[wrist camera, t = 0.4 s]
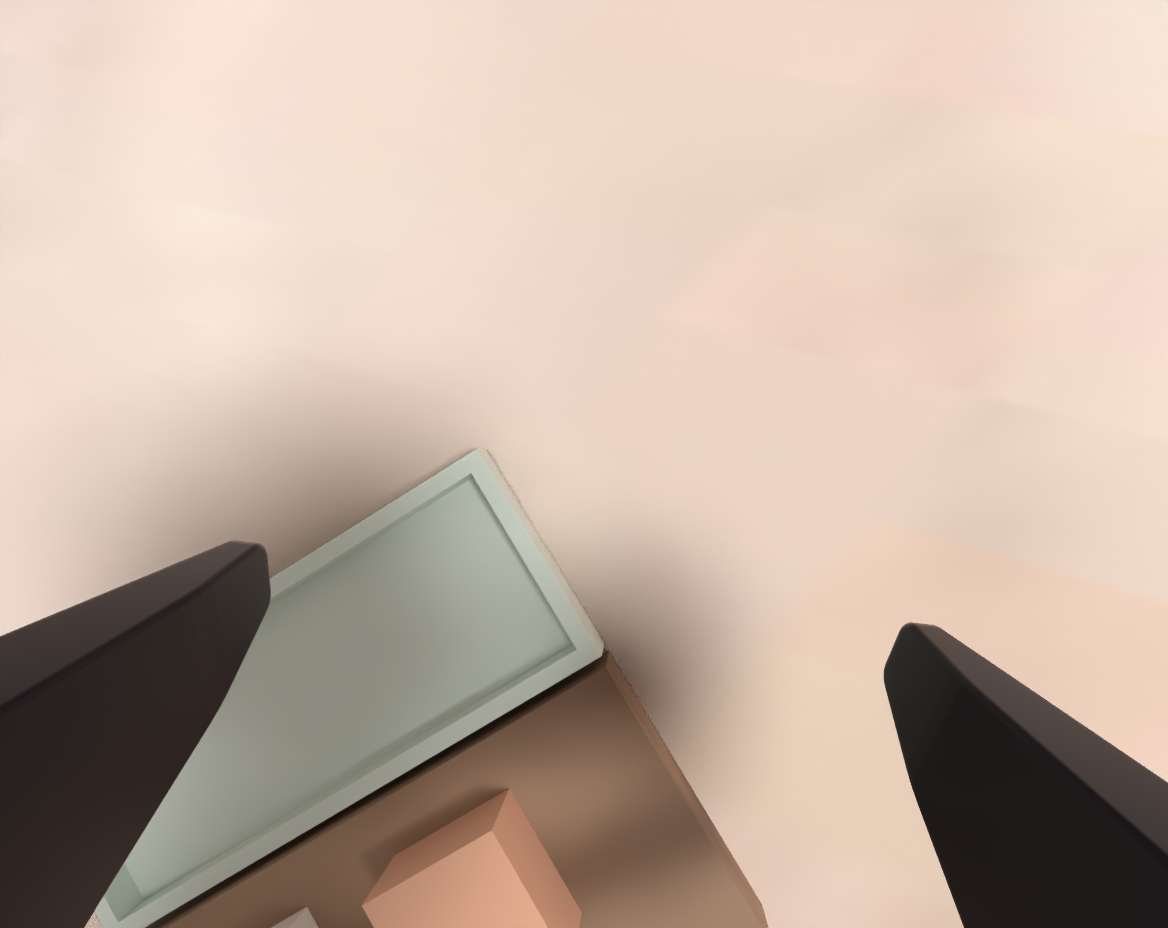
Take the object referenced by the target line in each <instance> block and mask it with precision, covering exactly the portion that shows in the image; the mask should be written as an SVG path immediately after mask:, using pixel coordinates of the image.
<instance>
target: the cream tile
mask: <svg viewBox="0 0 1168 928" xmlns="http://www.w3.org/2000/svg"><path fill="white" fill-rule="evenodd" d="M271 928H318V926H317V924H316V922H315V920H314V919H313V917H312V915H311V913H310V911H309V909H308V908H307V907H305V908H304V909H302V910H300V911H299V912H297V913H295V914H293V915H292V916H290V917H288V918H287V919H285V920H283V921H281V922H280V923H278V924H276V925H275V926H273V927H271Z"/></svg>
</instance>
